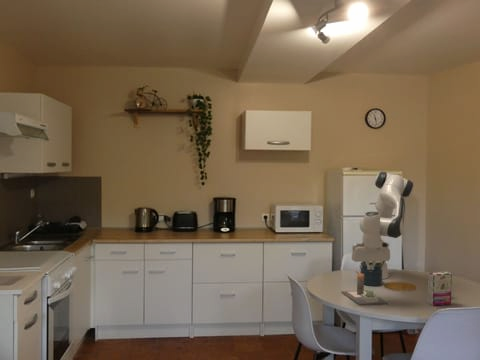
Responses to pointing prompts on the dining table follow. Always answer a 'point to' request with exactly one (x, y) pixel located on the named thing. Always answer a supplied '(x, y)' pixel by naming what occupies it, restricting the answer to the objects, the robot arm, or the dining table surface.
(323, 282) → the dining table surface
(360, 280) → the marker
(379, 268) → the canister
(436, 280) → the candy bar box
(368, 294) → the button
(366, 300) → the board
